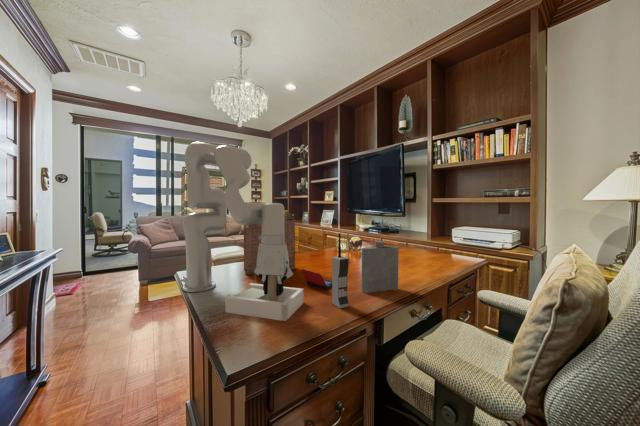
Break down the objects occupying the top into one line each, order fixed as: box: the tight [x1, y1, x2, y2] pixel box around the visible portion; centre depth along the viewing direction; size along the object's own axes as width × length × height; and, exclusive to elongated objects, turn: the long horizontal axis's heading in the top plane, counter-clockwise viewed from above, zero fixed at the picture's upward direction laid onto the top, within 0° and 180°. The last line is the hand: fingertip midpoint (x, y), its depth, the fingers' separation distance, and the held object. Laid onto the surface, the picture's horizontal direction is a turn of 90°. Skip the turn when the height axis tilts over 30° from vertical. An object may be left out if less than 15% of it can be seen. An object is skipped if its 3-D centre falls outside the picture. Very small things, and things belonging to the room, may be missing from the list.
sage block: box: [232, 288, 269, 301], centre depth 89 cm, size 9×9×4 cm
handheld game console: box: [301, 268, 332, 291], centre depth 110 cm, size 12×11×7 cm
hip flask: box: [360, 240, 400, 294], centre depth 104 cm, size 16×4×20 cm, turn 104°
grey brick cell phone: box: [331, 233, 350, 309], centre depth 88 cm, size 4×5×25 cm
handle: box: [267, 275, 279, 302], centre depth 86 cm, size 5×6×15 cm
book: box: [243, 212, 296, 276], centre depth 134 cm, size 25×9×30 cm, turn 109°
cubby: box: [224, 282, 305, 322], centre depth 87 cm, size 22×15×5 cm
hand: (273, 293), depth 86 cm, fingers closed on handle, 4 cm apart
